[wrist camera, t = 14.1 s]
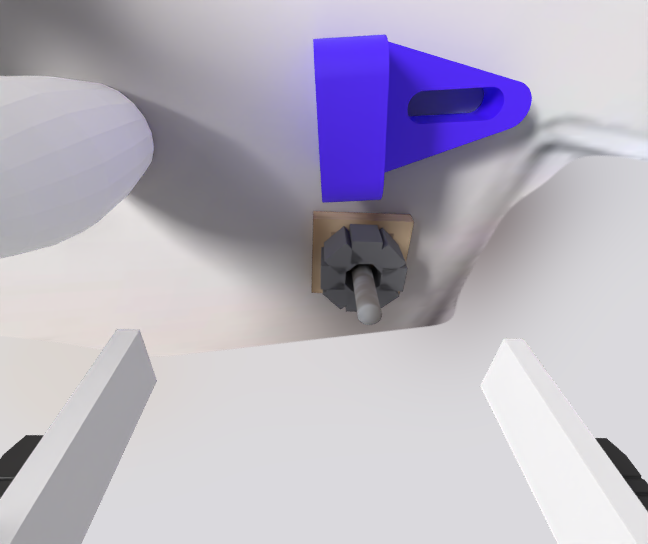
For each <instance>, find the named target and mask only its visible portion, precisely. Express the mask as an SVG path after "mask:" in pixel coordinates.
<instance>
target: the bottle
mask: <svg viewBox="0 0 648 544" xmlns="http://www.w3.org/2000/svg"><path fill="white" fill-rule="evenodd" d="M153 152H154V144H153V138H152V132H151V130H150V128H149V126H148V124H147V121H146V119H145V117H144V116H143V115H142V113H141V112H140V111H139V110H138V108H137V107H136V106H135V104H134V103H133V102H132V101H130V100H129V99H128V98H127V97H125V96H124V95H123V94H121V93H120V92H119V91H117V90H115V89H113V88H111V87H108V86H106V85H104V84H102V83H94V82H87V81H80V80H73V79H66V78H59V77H51V76H0V258H4V257H9V256H14V255H18V254H22V253H26V252H29V251H33V250H37V249H41V248H45V247H48V246H52V245H55V244H57V243H60V242H62V241H64V240H66V239H68V238H70V237H73V236H75V235H77V234H79V233H81V232H83V231H85V230H86V229H88V228H89V227H91V226H92V225H94V224H95V223H97V222H98V221H99V220H101V219H102V218H103V217H104V216H105V215H106V214H107V213H108V212H109V211H111V210H112V209H113V208H114V207H115V206H116V205H117V204H118V203H119V202H121V201H122V200H123V199H124V198H125V197H126V196H127V195H128V194H129V193H130V192H131V190H132V189H133V188H134V186H135V185H136V184H137V182H138V181H139V180H140V178H141V177H142V176H143V174H144V173H145V171H146V170H147V168H148V167H149V165H150V164H151V162H152V157H153Z"/></svg>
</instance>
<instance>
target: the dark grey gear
mask: <svg viewBox="0 0 648 544" xmlns="http://www.w3.org/2000/svg"><path fill="white" fill-rule="evenodd" d="M357 264H373V265H374V267H373V268H371V270H372V274H373V278H374V283H375V287H376V291H377V295H378V300H379V304H380V308H382V307H384V306H385V305H387V304H388V303H390V302H391V301H393V300H394V299H396V298H397V297H399V293H398V291H403V288H404V283H405V278H406V273H407V266H406V262H405V259H404V257H403V254H402V252H401V249H400V247H399V245H398V244H397V242H396V241H395V240H394V239H393V238H392V237H391V236H390V235H389V234H388V233H387V232H386V230H385V229H384V228H383V227H382V228H381V229H378V226H377V225H366V224H350V227H349V231H348V230H347V229H346V228H345V226H343V227H342V228H341V229H340V230H338V231H337V232H336V233H335V234H334V235H332V236H331V237H330V238H329V239H327V240H326V241H325V242H324V247H321V289H323V295H324V296H326V297H327V298H328V299H329V300H330V301H331V302H333V303H334V304H335V305H336V306H337V307H338V308H340V309H342V308H343V307H345V306H346V311H355V312H357V307H356V299H355V292H354V285H353V278H352V273H351V272H350V271H349V270H350V269H351V268H353V267H354V266H355V265H357Z"/></svg>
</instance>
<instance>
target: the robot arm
mask: <svg viewBox="0 0 648 544" xmlns="http://www.w3.org/2000/svg"><path fill="white" fill-rule="evenodd" d="M156 381H157V380H156V377H155V374H154V371H153V369H152V365H151V362H150V359H149V356H148V353H147V350H146V347H145V344H144V341H143V338H142V335H141V332H140V330H131V329H117V330H116V331H115V333H114V334H113V336H112V337H111V339H110V340H109V341H108V343H107V344H106V346H105V347H104V349H103V350H102V352H101V353H100V355H99V356H98V357H97V359H96V360H95V362H94V363H93V365H92V366H91V368H90V369H89V371H88V372H87V373H86V375H85V376H84V378H83V379H82V381H81V382H80V384H79V385H78V387H77V388H76V390H75V391H74V392H73V394H72V395H71V397H70V398H69V400H68V401H67V403H66V404H65V406H64V407H63V408H62V410H61V411H60V413H59V414H58V416H57V417H56V419H55V420H54V422H53V423H52V424H51V426H50V427H49V429H48V430H47V432H46V433H45V435H40V436H39V435H38V436H37V435H26V436H25V437H24V438H22V439H21V440H20V441H19V442H18V443H16V444H15V445H14V446H13V447H12V448H11V449H9V450H8V451H7V452H6V453H5V454H4V455H3V456H2V458H1V459H0V544H81V543H82V541H83V539H84V537H85V534H86V532H87V530H88V528H89V526H90V524H91V522H92V520H93V517H94V515H95V513H96V511H97V509H98V507H99V505H100V502H101V500H102V498H103V495H104V493H105V491H106V489H107V487H108V485H109V483H110V481H111V479H112V476H113V474H114V472H115V470H116V468H117V466H118V464H119V461H120V459H121V457H122V455H123V453H124V451H125V448H126V446H127V444H128V442H129V440H130V438H131V435H132V433H133V431H134V429H135V427H136V424H137V422H138V420H139V418H140V416H141V414H142V412H143V409H144V407H145V405H146V403H147V401H148V398H149V396H150V394H151V392H152V390H153V388H154V386H155V384H156ZM480 386H481V389H482V391H483V392H484V395H485V397H486V399H487V401H488V403H489V405H490V407H491V409H492V411H493V413H494V415H495V417H496V419H497V421H498V423H499V425H500V428H501V430H502V431H503V434H504V436H505V438H506V440H507V442H508V444H509V446H510V448H511V450H512V452H513V454H514V456H515V458H516V460H517V462H518V464H519V466H520V468H521V470H522V472H523V474H524V476H525V479H526V481H527V483H528V485H529V487H530V489H531V491H532V493H533V495H534V497H535V499H536V500H537V503H538V505H539V507H540V509H541V511H542V513H543V515H544V517H545V519H546V521H547V523H548V525H549V528H550V530H551V532H552V534H553V536H554V538H555V540H556V542H557V544H648V484H647V482H646V481H645V480H643V479H642V478H641V475H640V473H639V472H638V471H637V469H636V468H635V467H634V465H633V464H632V463H631V461H630V460H629V459H628V457H627V456H626V455H625V454H624V453H623V452H621V451H620V450H619V449H618V448H617V447H616V446H615V445H614V444H612V443H611V442H610V441H609V440H608V439H607V438H594V436H593V435H592V433H591V432H590V431H589V429H588V428H587V426H586V425H585V424H584V422H583V421H582V420H581V418H580V417H579V415H578V414H577V413H576V411H575V410H574V408H573V407H572V406H571V404H570V403H569V401H568V400H567V399H566V397H565V396H564V395H563V393H562V392H561V390H560V389H559V387H558V386H557V385H556V383H555V382H554V380H553V379H552V378H551V376H550V375H549V374H548V372H547V371H546V369H545V368H544V366H543V365H542V364H541V362H540V361H539V360H538V358H537V357H536V355H535V354H534V353H533V351H532V350H531V348H530V347H529V346H528V344H527V343H526V341H525V340H524V339H510V338H504V339H503V341H502V343H501V345H500V347H499V349H498V351H497V353H496V355H495V357H494V359H493V361H492V363H491V365H490V367H489V369H488V371H487V373H486V375H485V377H484V379H483V381H482V383H481V385H480Z"/></svg>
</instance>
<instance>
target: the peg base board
mask: <svg viewBox="0 0 648 544" xmlns="http://www.w3.org/2000/svg"><path fill="white" fill-rule="evenodd" d="M350 224H366V225H377V226H378V229H381V228H382V227H383V228H384V229H385V230H386V232H387V233H388V234H389V235H390V236H391V237H392V238H393V239H394V240H395V241H396V242H397V244H398V245H399V247H400V249H401V252H402V254H403V257H404V259H405V262H406V259H407V254H408V249H409V244H410V239H411V234H412V229H413V224H414V221H413V219H412V217H411V215H410V214H383V213H353V212H322V211H314V212H313V250H312V293H323V289H321V247H324V242H325V241H326V240H327V239H329V238H330V237H331V236H332V235H334V234H335V233H336V232H337V231H338V230H340V229H341V228H342V227H343V226H345V228H346V229H347V230H348V231H349V227H350ZM373 267H374V265H373V264H357V265H355V266H354V267H353V268H351V269H350V270H349V271H350V272H351V273H352V278H353V285H354V292H355V299H356V307H357V314H358V319H359V321H360V322H361V323H363V324H366V325H372V324H375V323H377V322H379V321H380V319H381V317H382V313H381V308H380V304H379V300H378V295H377V291H376V287H375V283H374V278H373V274H372V270H371V268H373ZM398 293H400V291H398Z"/></svg>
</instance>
